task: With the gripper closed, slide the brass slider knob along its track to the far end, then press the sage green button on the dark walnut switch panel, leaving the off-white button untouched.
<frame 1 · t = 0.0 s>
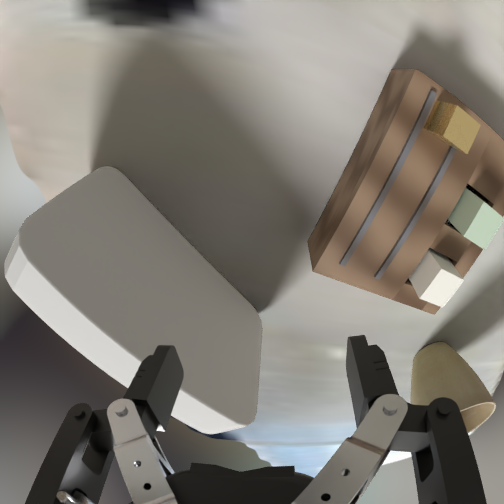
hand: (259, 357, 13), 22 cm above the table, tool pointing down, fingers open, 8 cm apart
sage green button: (472, 215, 25), point 6 cm above the table, slide at 0.0 cm
off-white button: (433, 275, 29), point 7 cm above the table, slide at 0.0 cm
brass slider: (452, 126, 20), point 8 cm above the table, slide at 0.0 cm
plant pot: (429, 354, 46), on the table
rounded white slab: (177, 254, 38), on the table
switch panel: (414, 192, 31), on the table
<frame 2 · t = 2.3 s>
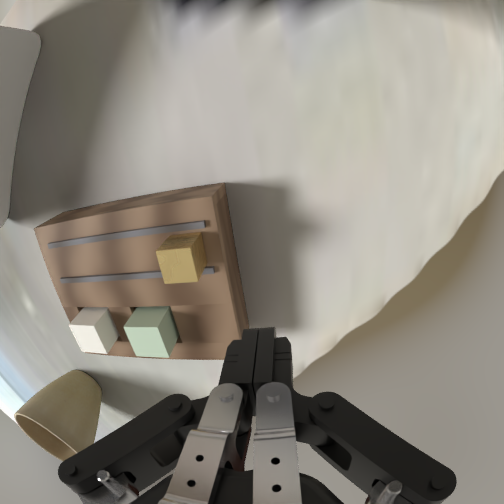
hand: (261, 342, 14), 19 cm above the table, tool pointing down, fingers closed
sage green button: (154, 328, 31), point 6 cm above the table, slide at 0.0 cm
off-white button: (97, 326, 32), point 6 cm above the table, slide at 0.0 cm
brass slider: (182, 257, 26), point 8 cm above the table, slide at 0.0 cm
plant pot: (85, 382, 48), on the table
rounded white slab: (9, 129, 29), on the table
switch panel: (149, 269, 36), on the table
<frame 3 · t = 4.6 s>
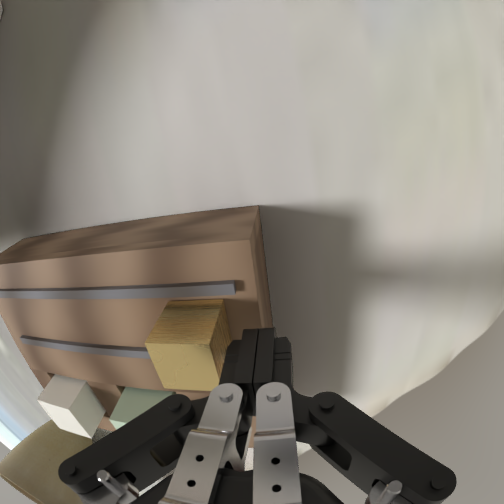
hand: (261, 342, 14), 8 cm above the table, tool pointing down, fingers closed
sage green button: (153, 414, 20), point 7 cm above the table, slide at 0.0 cm
off-white button: (75, 399, 21), point 6 cm above the table, slide at 0.0 cm
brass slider: (193, 344, 14), point 8 cm above the table, slide at 0.2 cm, touching gripper
plant pot: (73, 429, 36), on the table
switch panel: (142, 324, 24), on the table
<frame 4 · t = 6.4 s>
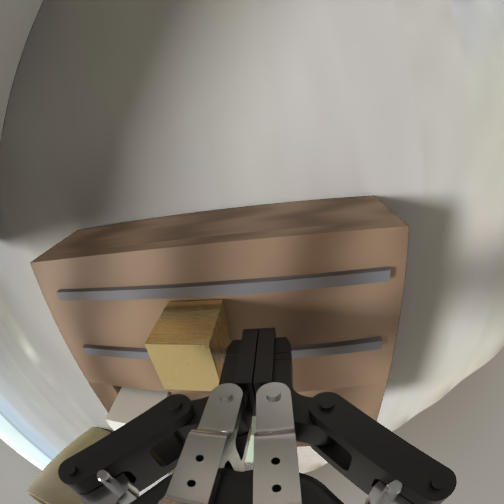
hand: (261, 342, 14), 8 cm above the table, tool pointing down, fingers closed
sage green button: (253, 420, 19), point 6 cm above the table, slide at 0.0 cm
off-white button: (149, 414, 20), point 6 cm above the table, slide at 0.0 cm
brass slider: (193, 344, 14), point 8 cm above the table, slide at 7.8 cm, touching gripper
plant pot: (110, 439, 36), on the table
switch panel: (228, 323, 23), on the table
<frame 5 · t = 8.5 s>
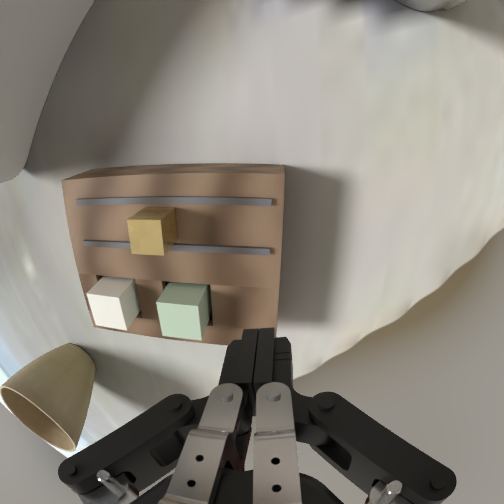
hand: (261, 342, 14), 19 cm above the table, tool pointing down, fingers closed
sage green button: (186, 307, 29), point 6 cm above the table, slide at 0.0 cm
off-white button: (116, 299, 30), point 6 cm above the table, slide at 0.0 cm
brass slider: (153, 230, 25), point 8 cm above the table, slide at 7.8 cm
plant pot: (78, 357, 45), on the table
rounded white slab: (44, 72, 26), on the table
switch panel: (182, 243, 34), on the table
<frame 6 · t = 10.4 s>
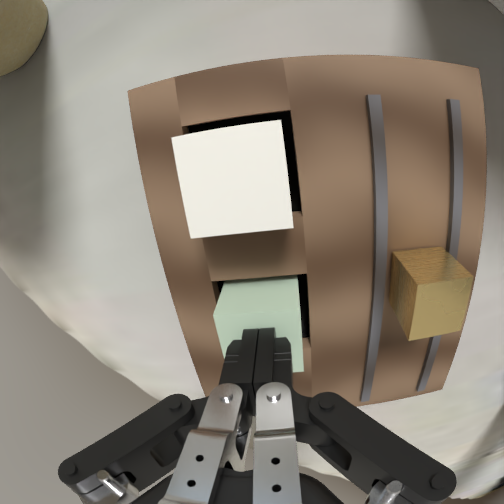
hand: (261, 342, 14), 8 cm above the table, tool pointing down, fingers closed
sage green button: (264, 316, 17), point 6 cm above the table, slide at 0.6 cm, touching gripper
off-white button: (241, 171, 13), point 6 cm above the table, slide at 0.0 cm
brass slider: (427, 290, 13), point 8 cm above the table, slide at 7.8 cm
plant pot: (23, 33, 15), on the table
switch panel: (322, 238, 21), on the table
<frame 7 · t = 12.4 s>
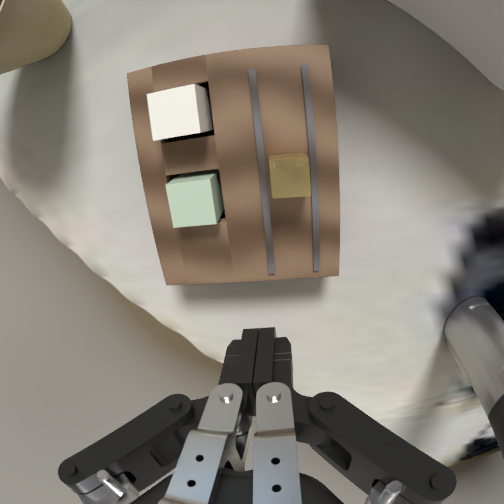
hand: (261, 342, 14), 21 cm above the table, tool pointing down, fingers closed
sage green button: (197, 196, 28), point 5 cm above the table, slide at 1.1 cm
off-white button: (181, 112, 24), point 6 cm above the table, slide at 0.0 cm
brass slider: (289, 174, 24), point 8 cm above the table, slide at 7.8 cm
plant pot: (52, 31, 24), on the table
rounded white slab: (424, 7, 21), on the table
switch panel: (243, 162, 32), on the table
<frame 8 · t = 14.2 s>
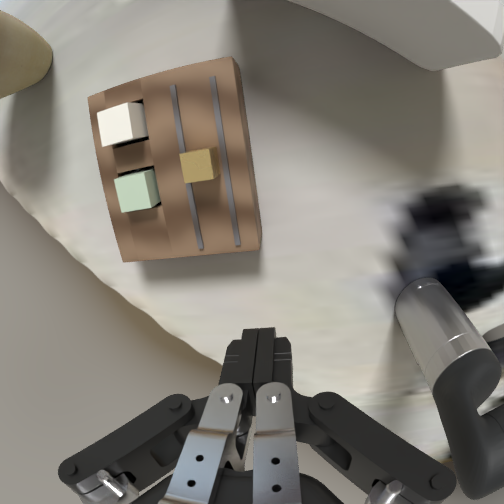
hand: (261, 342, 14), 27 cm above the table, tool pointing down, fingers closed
sage green button: (141, 188, 34), point 5 cm above the table, slide at 1.1 cm
off-white button: (124, 124, 30), point 6 cm above the table, slide at 0.0 cm
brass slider: (200, 164, 30), point 8 cm above the table, slide at 7.8 cm
plant pot: (38, 62, 32), on the table
rounded white slab: (339, 5, 28), on the table
switch panel: (182, 160, 38), on the table
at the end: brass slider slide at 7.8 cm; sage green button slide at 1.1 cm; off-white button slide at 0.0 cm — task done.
